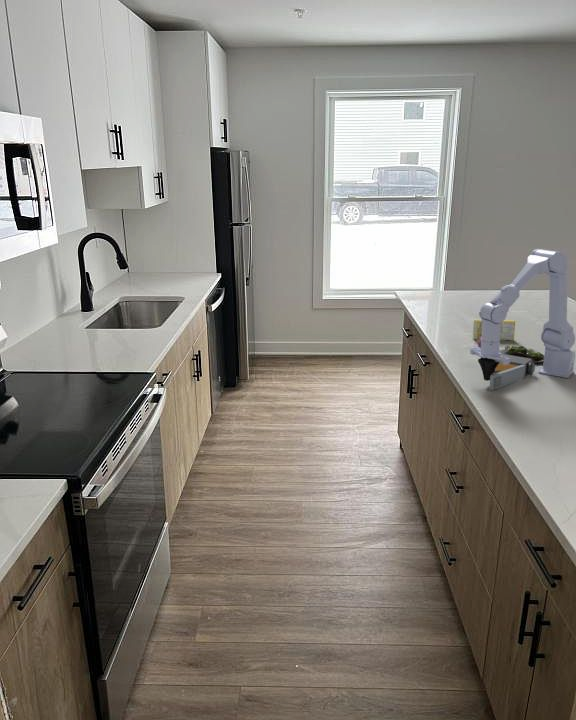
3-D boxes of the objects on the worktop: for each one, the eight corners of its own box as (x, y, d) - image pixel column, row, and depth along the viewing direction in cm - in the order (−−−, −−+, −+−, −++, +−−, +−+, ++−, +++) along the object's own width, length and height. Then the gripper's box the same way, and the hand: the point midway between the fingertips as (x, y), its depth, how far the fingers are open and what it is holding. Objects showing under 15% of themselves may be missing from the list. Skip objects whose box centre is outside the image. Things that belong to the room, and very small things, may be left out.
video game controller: (489, 350, 235) (483, 334, 235) (500, 347, 232) (493, 330, 232) (480, 357, 228) (473, 340, 228) (491, 353, 225) (484, 336, 225)
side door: (522, 377, 200) (523, 364, 199) (526, 378, 199) (527, 365, 198) (489, 388, 191) (490, 375, 190) (493, 390, 190) (494, 376, 189)
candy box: (513, 339, 243) (515, 320, 241) (513, 341, 242) (515, 321, 239) (472, 338, 248) (473, 318, 245) (472, 339, 246) (473, 320, 243)
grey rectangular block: (536, 373, 204) (537, 359, 203) (529, 379, 199) (531, 365, 197) (497, 366, 212) (498, 353, 211) (490, 371, 207) (491, 358, 206)
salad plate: (485, 351, 231) (486, 340, 229) (530, 349, 231) (531, 338, 230) (505, 367, 212) (506, 355, 211) (554, 365, 213) (555, 352, 211)
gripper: (464, 337, 194) (462, 376, 198) (500, 347, 182) (497, 388, 186) (479, 333, 197) (476, 371, 202) (515, 343, 186) (511, 384, 190)
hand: (487, 379), depth 194 cm, fingers closed
